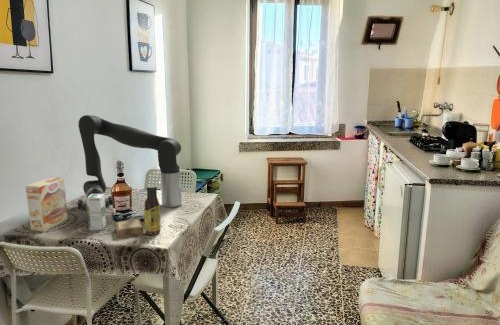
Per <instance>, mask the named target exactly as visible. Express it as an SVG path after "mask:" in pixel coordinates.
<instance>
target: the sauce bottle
mask: <svg viewBox="0 0 500 325" xmlns="http://www.w3.org/2000/svg"><path fill="white" fill-rule="evenodd" d="M157 190H158V186H157V185H156V184H155V185H154V184H152V185H147V186H146V199H145V201H144V230H145V231H144V232H145V234H146V235H147V236H153V235H154V236H155V235H158V234H159V233H160V232H161V228H162V226H161V224H162V223H161V205H160V202H159V198H158V194H157V192H158V191H157Z"/></svg>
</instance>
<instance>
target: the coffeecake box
mask: <svg viewBox="0 0 500 325" xmlns="http://www.w3.org/2000/svg"><path fill="white" fill-rule="evenodd" d="M25 193H26V201H27V209H28V217H29V223H30V224H29V225H30V231H37V232H47V231H48V230H51V229H52V228H54V227H56V226H57V225H59V224H62V223H63V222H65V221H67V220H68V219H69V217H68V208H67V199H66V188H65V178H64V177H57V176H56V177H55V176H50V177H46V178H45V179H41V180H39V181H36V182H33V183H30V184H27V185H25Z"/></svg>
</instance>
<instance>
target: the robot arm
mask: <svg viewBox="0 0 500 325" xmlns="http://www.w3.org/2000/svg"><path fill="white" fill-rule="evenodd" d="M78 129H79V135H80V138H81V142H82V146H83V152H84V159H85V172H86V175H87V176H90V177H96V178H97V179H94V180H87V181H85V182H84V184H83V185H82V189H83V191H84V192H83V193H84V194H85V196H86V198H87V197H88V196H89V195H91V194H104V193H105V192H106V190H107V184H106V182H105V179H104V177H103V172H102V164H101V162H102V161H101V156H100V154H99V151H98V149H97V145H96V142H95V135H100V136H105V137H108V138H111V139H113V140H114V141H116V142H117V143H120V144H122V145H125V146H129V147H132V148H137V149H150V150H154V151H157V161H158V167H159V169H160V188H161V191H160V192H161V206H162V207H163V208H176V207H179V206H182V205H183V204H182V203H183V202H182V186H181V178H180V176H181V175H180V174H181V173H180V166H179V165H178V161H177V156H179V154H180V153H181V150H182V145H181V144H180V142H179V141H178V140H177V139H176V138H175V139H174V138H171V137H166V136H160V135H156V134H152V133H150V132H148V131H144V130H142V129H138V128H135V127H132V126H128V125H125V124H119V123H114V122H111V121H108V120H105V119H104V118H101V117H99V116H96V115H90V114H86V115H85V114H84V115H83V116H81V117H80V118H79V120H78ZM104 195H105V194H104ZM104 199H105V210H106V209H108V208H109V207H110V206H114V199H113V197H112V196H111V195H109V196H108V197H104ZM77 209H78V210H81V209H82V211H84V212H86V211H87V201H86V199H85V200H83V199H78V201H77Z"/></svg>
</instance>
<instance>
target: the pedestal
mask: <svg viewBox="0 0 500 325" xmlns="http://www.w3.org/2000/svg"><path fill="white" fill-rule="evenodd" d="M115 230H116V235H117V238H118V239H120V238H126V237H132V236H133V237H134V236H140V235H141V236H142V235H144V226H143V224H142V220H141V219H140V218H137V219H129V220H120V221H116V222H115Z"/></svg>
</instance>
